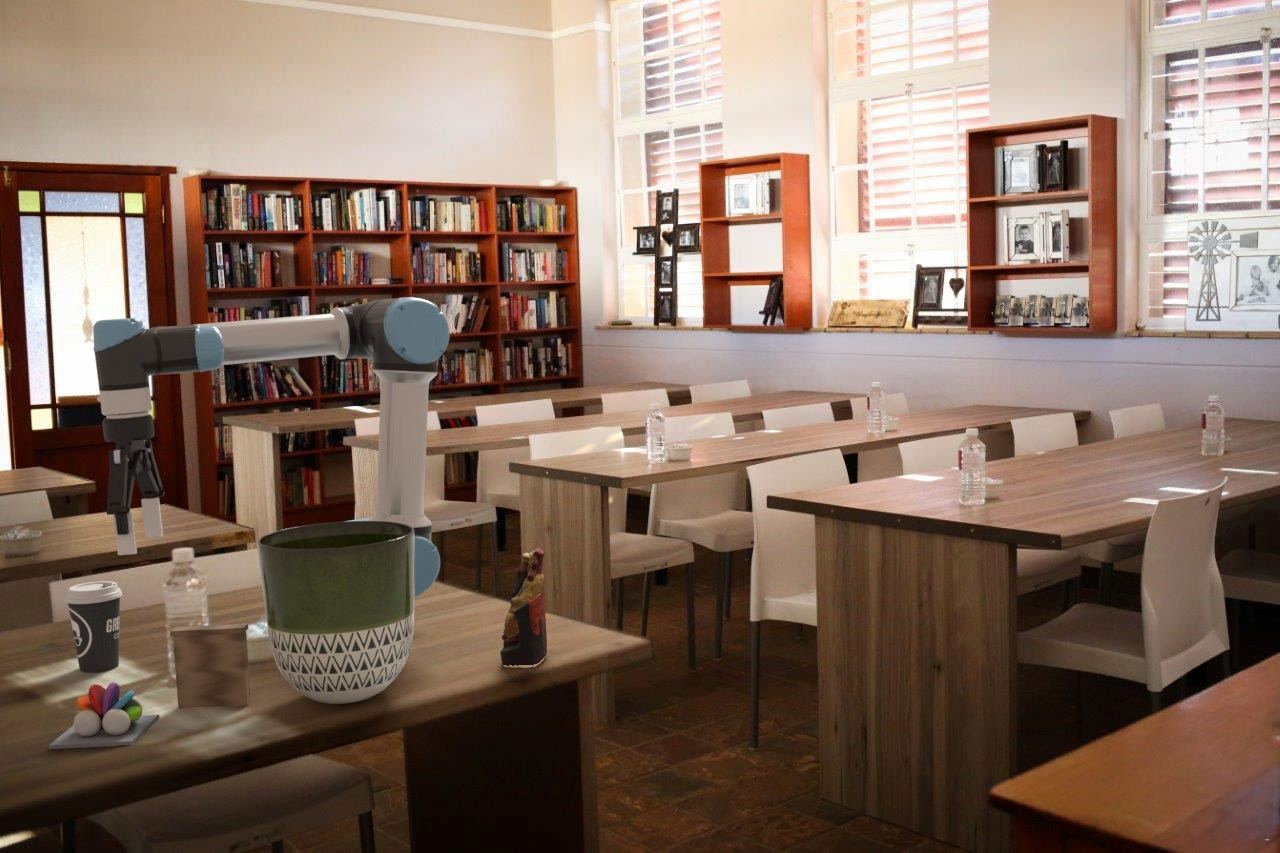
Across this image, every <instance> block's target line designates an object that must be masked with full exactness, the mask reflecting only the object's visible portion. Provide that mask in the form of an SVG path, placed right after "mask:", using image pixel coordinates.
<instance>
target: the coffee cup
mask: <svg viewBox="0 0 1280 853" xmlns="http://www.w3.org/2000/svg"><path fill="white" fill-rule="evenodd" d="M122 596H123V592H122V589H121V588H120V587H119V586H118V583H117V582H115V581H109V580H102V581H101V580H100V581H98V580H97V581H90V582H83V583H78V584H74V585H72V586H70V587H69V588H68V591H67V594H66V595H65V598H64V602H65V603H67V606H68V612H69V617H70V623H71V628H72V633H73V638H74V646H75V650H76V656H77V662H78V668H79V671H80V672H81V673H85V674H86V673H88V674H89V673H90V674H92V673H93V674H94V673H95V674H96V673H102V672H107V671H111V670H114V669H116V668H117V667H119V665H120V661H119V660H120V613H121V612H120V606H121V604H120V602H121V597H122Z"/></svg>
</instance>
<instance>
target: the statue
mask: <svg viewBox="0 0 1280 853" xmlns="http://www.w3.org/2000/svg"><path fill="white" fill-rule="evenodd" d="M544 557H545V551H544V550H543V549H541V548H540V547H539V548H538V547H537V548H535V550H532V551H531V552H523V554H522V556H521V558H522V559H521V562H520V566H519V569H518V571H517V572H518V573H517V578H516V582H515V586H514V589H512V590H511V593H510V600H509V602H510V607H509V609H508V612H507V614H506V617H505V620H504V626H503V627H504V629H503V632H502V633H503V634H502V635H501V639H502V641H503V645H502V646H503V647H502V648H501V650H500V652H499V653H500V660H501V666H503V665H507V666H509V665H512V666H514V665H517V666H518V665H534V664H537V663H539V662H540V661H541V660H542V659H543V658H544V657H545V656H546V654H547V655H548V639H547V638H548V637H547V622H546V621H547V620H546V594H545V593H546V591H545V585H546V580H545V575H544V574H543V565H544V564H543V561H544Z"/></svg>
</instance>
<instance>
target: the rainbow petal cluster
mask: <svg viewBox="0 0 1280 853" xmlns="http://www.w3.org/2000/svg"><path fill="white" fill-rule="evenodd" d="M120 693H121V690H120V684H118V683H117V682H115V681H114V682H110V683H109V684H108V686H107V687H106V689H105V687H103V686H102V685H101V684H97V683H94V684H92V685H91V686H90V687H89V689H88V693H87V694H88V695H83V696H80V697H78V698H77V700H76V701H75V705H76V708H77V709H78V711H80V712H78V713H77V714H76V715H75V717H74V719H73V725H74V729H75V731H76V732H77V733H78V734H79V735H81V736H92V735H95V734H96V733H97V732H98V731H99V730H100V728H101V724H102V725H103V728H104V730H105V731H106V732H107V733H109V734H111V735H120V734H123V733H125V732H126V731H127V730H128V729H129V726H130V723H133V722H135V721H137V720H138V719H139V718H140V717H141V715H143V705H142V703H141V702H140V701H139V699H137V698H134V697H135V695H136V693H135V691H134V690H128V691H127V692H126V693H125V694H124V695H123V696H122V697H121V698H120V696H121V694H120ZM73 725H72V726H73Z"/></svg>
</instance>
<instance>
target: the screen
mask: <svg viewBox="0 0 1280 853" xmlns="http://www.w3.org/2000/svg"><path fill="white" fill-rule="evenodd" d="M248 630H249V623H237V624H233V623H232V624H216V625H215V624H214V625H213V624H212V625H211V624H210V625H196V626H194V625H191V626H190V625H189V626H174V628H172V629H170V630H169V632H170V633H169V634H170V635H169V636H170V637H172V640H173V654H174V666H175V669H174V670H175V678H176V679H175V680H176V682H175V684H176V692H177V693H176V694H177V705H178V706H177V709H180V710H181V709H199V708H217V707H220V708H221V707H239V706H240V707H241V706H248V705H250V703H251V702H252V698H251V695H252V694H251V684H250V683H251V682H250V668H249V653H248V652H249V650H248V640H247V639H248V638H247V631H248Z"/></svg>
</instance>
